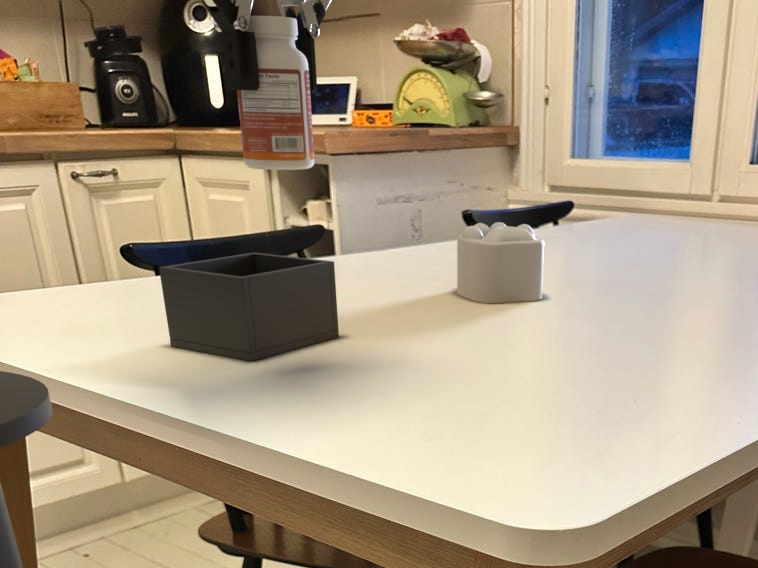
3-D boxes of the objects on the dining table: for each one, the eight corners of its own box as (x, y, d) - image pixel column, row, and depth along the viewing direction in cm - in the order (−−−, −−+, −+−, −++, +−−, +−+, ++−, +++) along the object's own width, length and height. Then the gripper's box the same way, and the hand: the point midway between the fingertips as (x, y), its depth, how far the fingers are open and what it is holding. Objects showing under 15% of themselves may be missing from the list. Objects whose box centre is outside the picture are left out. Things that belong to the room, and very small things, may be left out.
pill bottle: (271, 165, 85) (259, 21, 79) (328, 168, 83) (320, 20, 77) (229, 168, 80) (213, 14, 74) (289, 171, 78) (277, 13, 72)
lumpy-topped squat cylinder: (479, 304, 119) (480, 231, 114) (443, 288, 129) (443, 220, 125) (551, 299, 122) (554, 228, 118) (510, 284, 133) (512, 218, 128)
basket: (251, 361, 91) (242, 278, 87) (170, 346, 97) (158, 267, 93) (339, 336, 101) (334, 261, 97) (261, 324, 107) (254, 252, 103)
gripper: (294, -155, 77) (310, 93, 86) (123, -209, 65) (162, 88, 74) (363, -166, 74) (372, 94, 83) (196, -225, 61) (228, 88, 70)
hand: (273, 89), depth 78 cm, fingers closed on pill bottle, 6 cm apart
